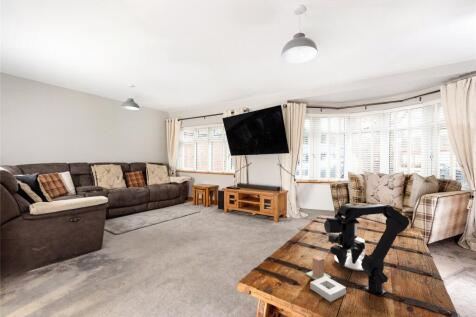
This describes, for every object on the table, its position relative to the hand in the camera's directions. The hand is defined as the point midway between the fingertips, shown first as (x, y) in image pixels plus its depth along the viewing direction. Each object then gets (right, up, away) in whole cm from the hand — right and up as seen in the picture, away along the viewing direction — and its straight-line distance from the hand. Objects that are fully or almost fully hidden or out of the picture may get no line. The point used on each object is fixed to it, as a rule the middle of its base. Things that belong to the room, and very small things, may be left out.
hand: (348, 265), depth 98 cm
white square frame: (-9, -12, 0) cm, 15 cm away
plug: (-9, -12, +13) cm, 20 cm away
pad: (-9, -12, +13) cm, 20 cm away
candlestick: (+18, -13, +25) cm, 33 cm away
